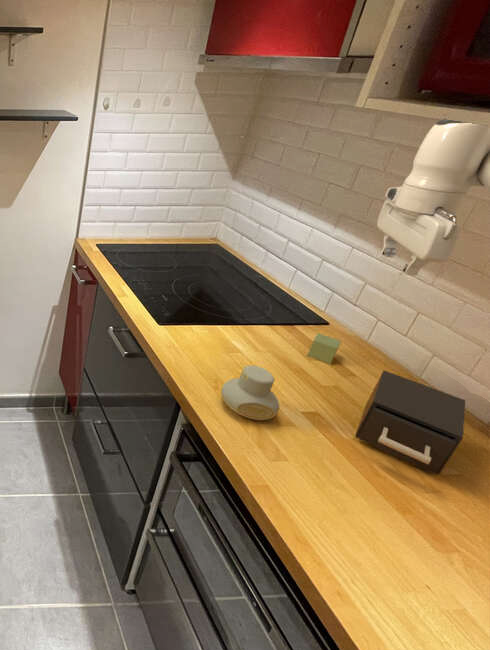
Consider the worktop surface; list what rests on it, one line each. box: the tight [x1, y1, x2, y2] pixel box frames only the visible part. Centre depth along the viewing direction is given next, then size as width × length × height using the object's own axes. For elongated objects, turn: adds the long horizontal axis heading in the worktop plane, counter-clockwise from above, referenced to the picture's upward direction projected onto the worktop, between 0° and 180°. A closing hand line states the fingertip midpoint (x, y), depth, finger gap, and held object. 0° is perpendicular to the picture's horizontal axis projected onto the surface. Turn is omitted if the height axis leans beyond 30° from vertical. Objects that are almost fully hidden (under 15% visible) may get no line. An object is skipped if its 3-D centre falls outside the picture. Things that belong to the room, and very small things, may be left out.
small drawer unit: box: [354, 369, 466, 475], centre depth 92 cm, size 15×13×10 cm
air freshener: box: [221, 365, 280, 421], centre depth 98 cm, size 11×8×10 cm
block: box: [307, 333, 342, 365], centre depth 118 cm, size 5×5×5 cm
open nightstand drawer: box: [358, 406, 456, 475], centre depth 89 cm, size 18×11×8 cm, turn 132°
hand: (397, 264), depth 93 cm, fingers open, 8 cm apart
